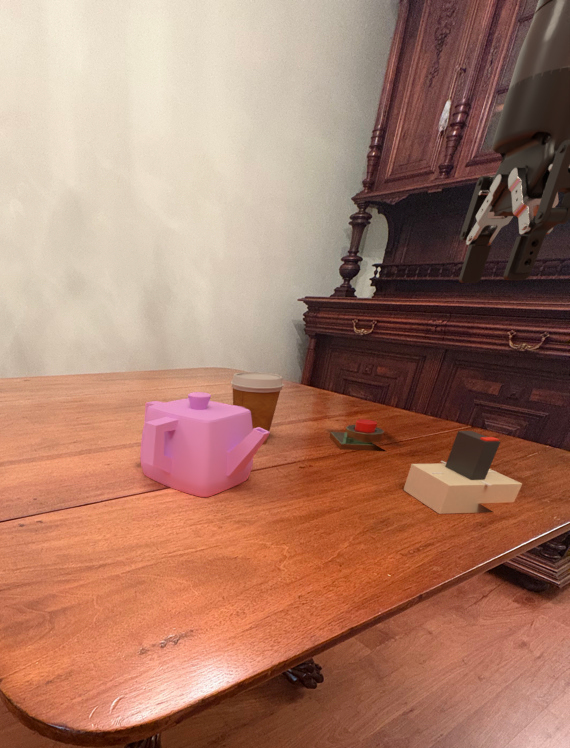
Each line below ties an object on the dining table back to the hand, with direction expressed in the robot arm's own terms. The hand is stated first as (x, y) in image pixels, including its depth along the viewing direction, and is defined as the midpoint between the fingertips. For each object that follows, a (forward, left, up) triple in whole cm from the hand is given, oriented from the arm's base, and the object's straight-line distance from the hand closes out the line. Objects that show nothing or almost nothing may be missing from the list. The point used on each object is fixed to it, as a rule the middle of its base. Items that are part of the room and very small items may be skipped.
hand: (489, 281), depth 48 cm
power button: (-4, -24, -23) cm, 33 cm away
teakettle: (+30, -9, -26) cm, 41 cm away
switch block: (-4, -24, -26) cm, 35 cm away
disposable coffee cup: (+17, -27, -26) cm, 41 cm away
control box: (-4, +2, -26) cm, 26 cm away
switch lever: (-4, +2, -22) cm, 22 cm away
